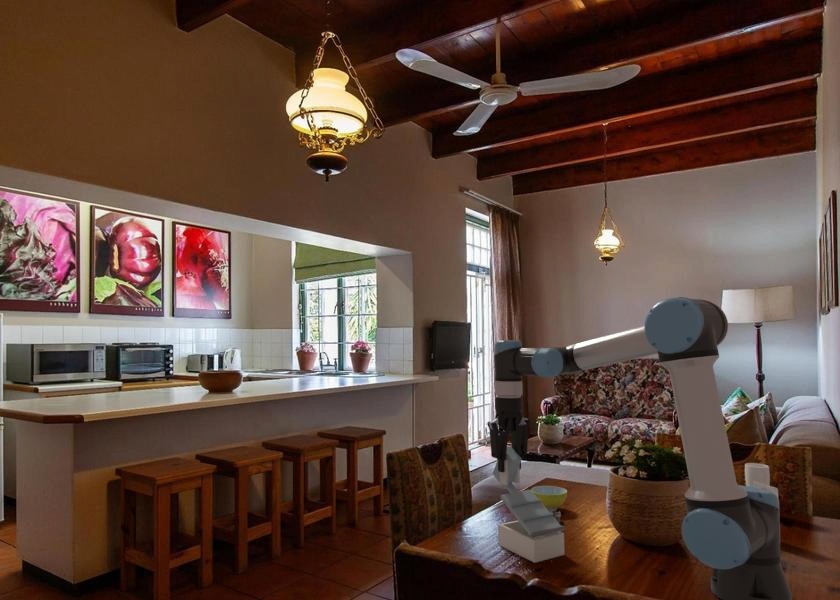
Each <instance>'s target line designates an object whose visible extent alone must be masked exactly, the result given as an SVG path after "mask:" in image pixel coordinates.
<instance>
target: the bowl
mask: <svg viewBox="0 0 840 600" xmlns="http://www.w3.org/2000/svg"><path fill="white" fill-rule="evenodd" d="M530 490H531V491H532V492H533V493H534V495H535V496H536V497H537V498H538V499H541V503H542V504H543V505H544V506H545V507H546V508H547V509H551V510H555V512H557V509H558V508H559V507H561V506H562V505H563V504H564V503H565V502H566V499H567V497H568V490H567V489H565V488H563V487H560V486H555V485H554V486H553V485H538V486H533V487H532V488H531V489H530Z"/></svg>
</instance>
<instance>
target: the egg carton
mask: <svg viewBox="0 0 840 600" xmlns="http://www.w3.org/2000/svg"><path fill="white" fill-rule="evenodd" d="M546 509H547V508H546ZM547 510H548V511H549V512H550V513H551V512H552V513H553V517H554V518H555V519H556V520H557V522H558V523H559V524H560V522H561V516H562V513H561V511H560V510H558V512H557V511H555V510H551V509H547Z"/></svg>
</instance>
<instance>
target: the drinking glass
mask: <svg viewBox="0 0 840 600" xmlns="http://www.w3.org/2000/svg"><path fill="white" fill-rule="evenodd" d="M770 477H771V473H770V465H767V464H763V463H758V462H747V463H744V479H745V486H749V487H753V482H758V483H761V484H765V485H768V486H770V483H771V482H770V481H771V478H770ZM761 489H764V490H768V489H766V488H761ZM768 491H770V490H768Z"/></svg>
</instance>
